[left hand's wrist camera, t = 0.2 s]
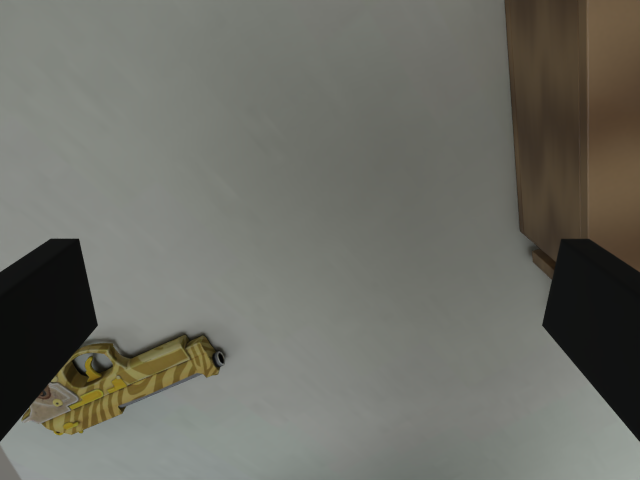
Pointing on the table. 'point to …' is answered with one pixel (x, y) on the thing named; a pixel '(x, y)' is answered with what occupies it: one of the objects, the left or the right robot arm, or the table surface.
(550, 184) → the cabinet
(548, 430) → the table surface
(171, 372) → the handgun
